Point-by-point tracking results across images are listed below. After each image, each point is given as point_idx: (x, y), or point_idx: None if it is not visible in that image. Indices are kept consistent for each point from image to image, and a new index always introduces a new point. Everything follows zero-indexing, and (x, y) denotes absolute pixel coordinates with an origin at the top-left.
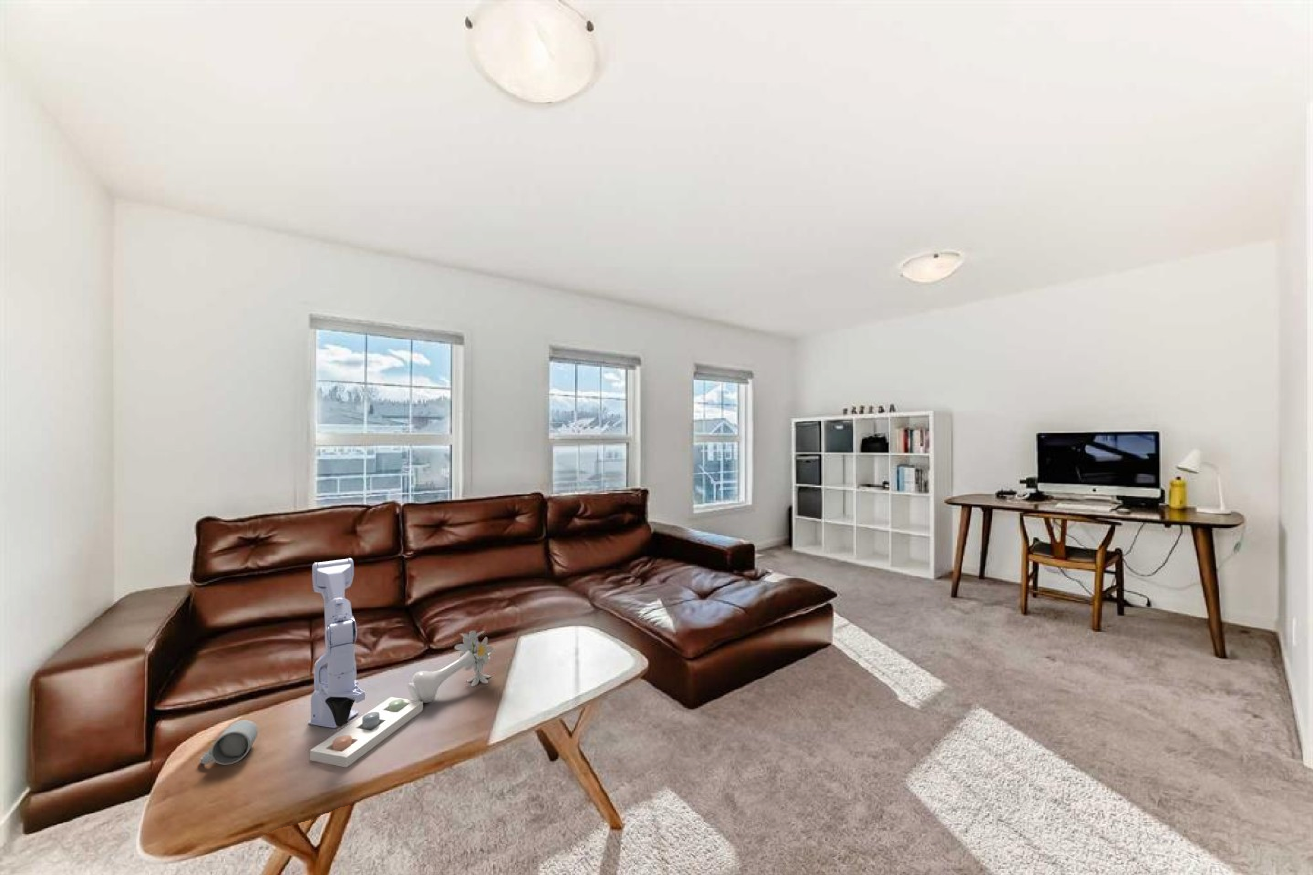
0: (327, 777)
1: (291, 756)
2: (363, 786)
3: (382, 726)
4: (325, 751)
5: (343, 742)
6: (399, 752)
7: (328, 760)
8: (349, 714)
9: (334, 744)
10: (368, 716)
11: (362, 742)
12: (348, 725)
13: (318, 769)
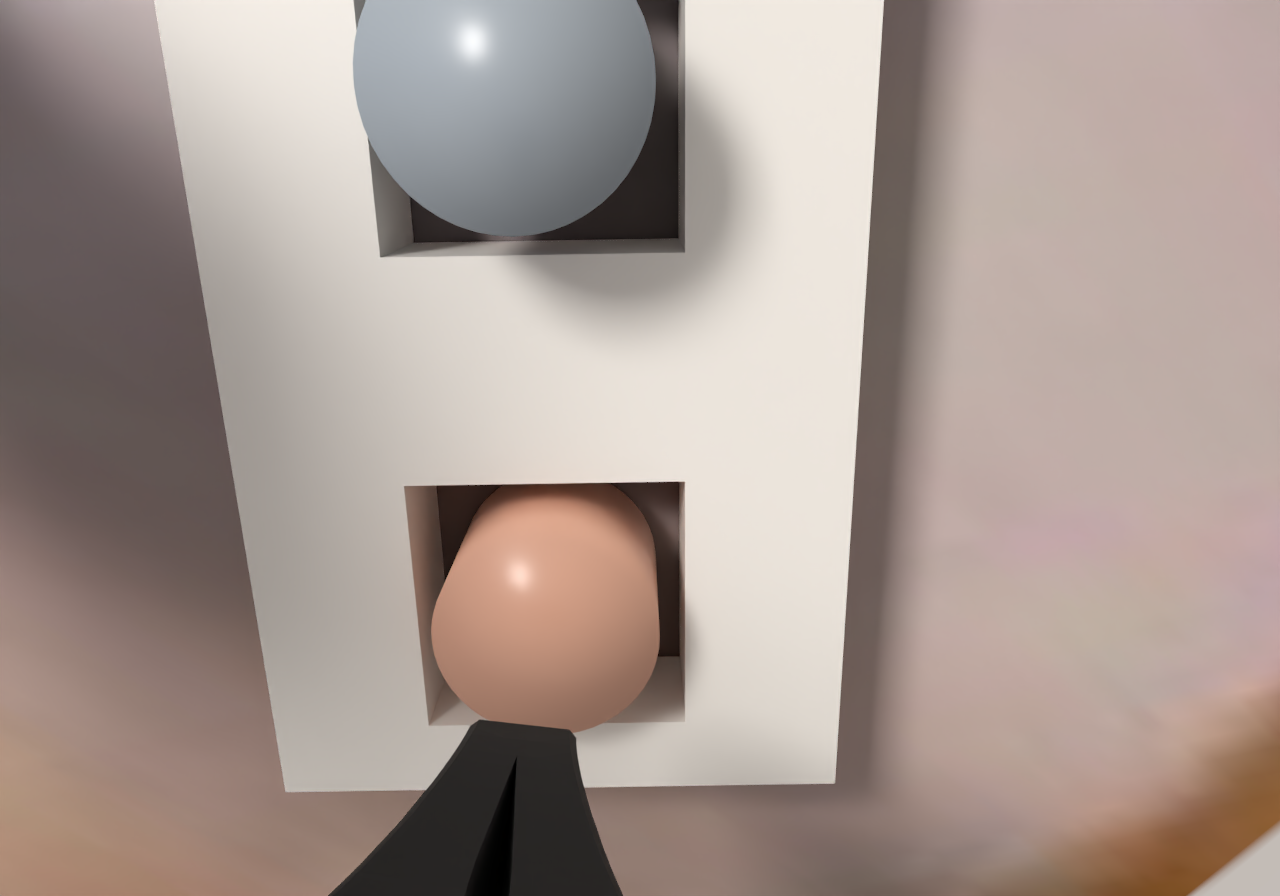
0: (751, 854)
1: (65, 723)
2: (1193, 861)
3: (772, 99)
4: None
5: (617, 674)
6: (1238, 361)
7: None
8: (583, 803)
9: None
10: (474, 113)
11: (789, 513)
12: (202, 229)
13: None
